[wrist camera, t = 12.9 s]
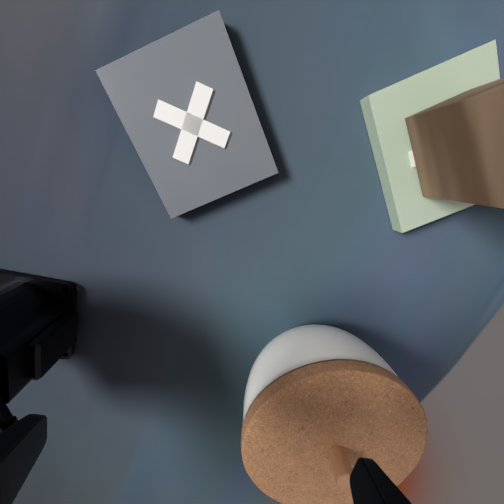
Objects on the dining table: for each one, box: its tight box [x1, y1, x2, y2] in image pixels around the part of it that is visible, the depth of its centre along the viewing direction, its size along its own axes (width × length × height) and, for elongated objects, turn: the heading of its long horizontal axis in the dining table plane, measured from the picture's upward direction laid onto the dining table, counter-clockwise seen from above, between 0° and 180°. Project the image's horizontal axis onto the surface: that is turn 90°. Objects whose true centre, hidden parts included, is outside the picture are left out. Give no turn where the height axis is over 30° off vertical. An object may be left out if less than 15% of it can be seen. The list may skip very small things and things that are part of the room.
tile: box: [95, 10, 278, 219], centre depth 16 cm, size 8×9×1 cm
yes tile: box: [360, 40, 500, 233], centre depth 17 cm, size 8×9×1 cm
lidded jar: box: [241, 324, 428, 504], centre depth 18 cm, size 11×11×9 cm
